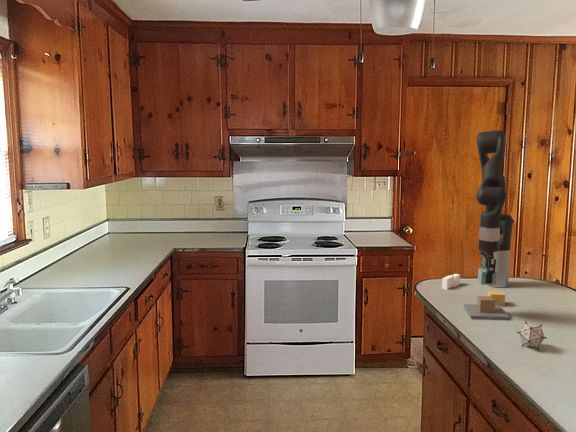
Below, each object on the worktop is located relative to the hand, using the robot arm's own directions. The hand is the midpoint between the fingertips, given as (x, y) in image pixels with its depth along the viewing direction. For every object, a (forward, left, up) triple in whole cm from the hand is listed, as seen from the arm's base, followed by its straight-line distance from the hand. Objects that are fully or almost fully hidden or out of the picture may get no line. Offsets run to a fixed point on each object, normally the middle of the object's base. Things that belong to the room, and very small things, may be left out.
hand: (486, 280), depth 206 cm
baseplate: (0, 0, -13) cm, 13 cm away
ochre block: (-12, +7, -13) cm, 19 cm away
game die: (+32, +7, -13) cm, 35 cm away
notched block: (-36, -6, -14) cm, 39 cm away
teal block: (0, 0, -1) cm, 1 cm away
